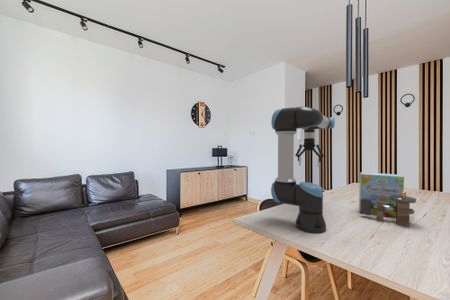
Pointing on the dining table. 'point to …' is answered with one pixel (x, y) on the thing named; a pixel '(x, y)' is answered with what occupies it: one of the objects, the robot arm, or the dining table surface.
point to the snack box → (380, 190)
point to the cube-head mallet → (368, 205)
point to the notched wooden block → (401, 213)
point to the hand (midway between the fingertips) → (309, 166)
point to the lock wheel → (403, 198)
